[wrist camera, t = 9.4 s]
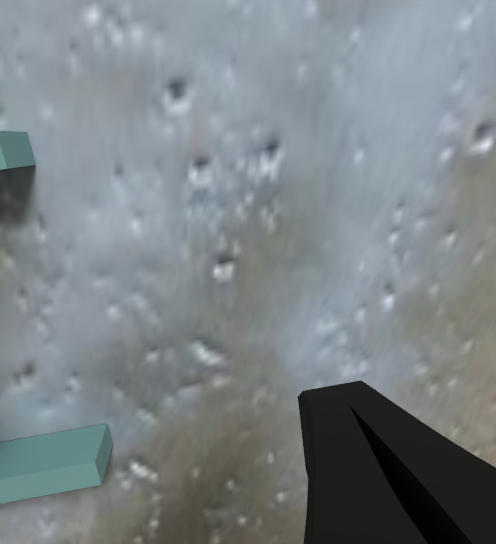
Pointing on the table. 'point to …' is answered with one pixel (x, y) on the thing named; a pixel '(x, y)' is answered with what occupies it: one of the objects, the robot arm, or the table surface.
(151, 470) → the table surface
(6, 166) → the teal u-shaped frame
